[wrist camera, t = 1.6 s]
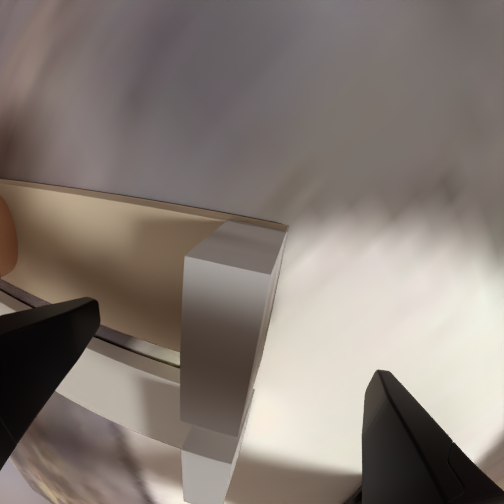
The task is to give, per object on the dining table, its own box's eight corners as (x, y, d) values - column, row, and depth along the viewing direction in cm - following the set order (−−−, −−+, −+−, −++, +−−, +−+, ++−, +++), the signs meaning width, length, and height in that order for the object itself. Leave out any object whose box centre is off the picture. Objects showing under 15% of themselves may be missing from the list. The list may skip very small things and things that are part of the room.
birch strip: (261, 358, 13) (237, 437, 9) (-35, 248, 16) (-75, 268, 12) (288, 225, 11) (270, 275, 7) (-42, 174, 14) (-87, 187, 10)
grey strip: (239, 452, 16) (220, 511, 12) (-15, 331, 19) (-47, 354, 15) (254, 389, 14) (231, 464, 10) (-31, 271, 17) (-69, 292, 13)
